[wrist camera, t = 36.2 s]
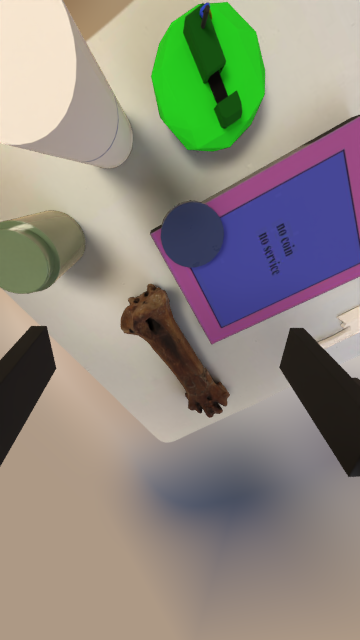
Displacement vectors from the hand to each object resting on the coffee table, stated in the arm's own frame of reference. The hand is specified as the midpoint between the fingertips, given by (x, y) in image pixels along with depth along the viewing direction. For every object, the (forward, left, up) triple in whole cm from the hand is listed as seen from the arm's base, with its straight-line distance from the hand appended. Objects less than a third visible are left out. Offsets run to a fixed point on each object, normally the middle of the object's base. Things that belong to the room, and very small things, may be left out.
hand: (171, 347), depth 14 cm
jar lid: (+3, +2, -24) cm, 24 cm away
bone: (+3, -20, -29) cm, 35 cm away
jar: (-16, 0, -29) cm, 33 cm away
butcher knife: (+35, -13, -29) cm, 47 cm away
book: (+16, 0, -29) cm, 33 cm away
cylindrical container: (-8, +13, -29) cm, 33 cm away
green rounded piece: (+4, +17, -29) cm, 34 cm away
